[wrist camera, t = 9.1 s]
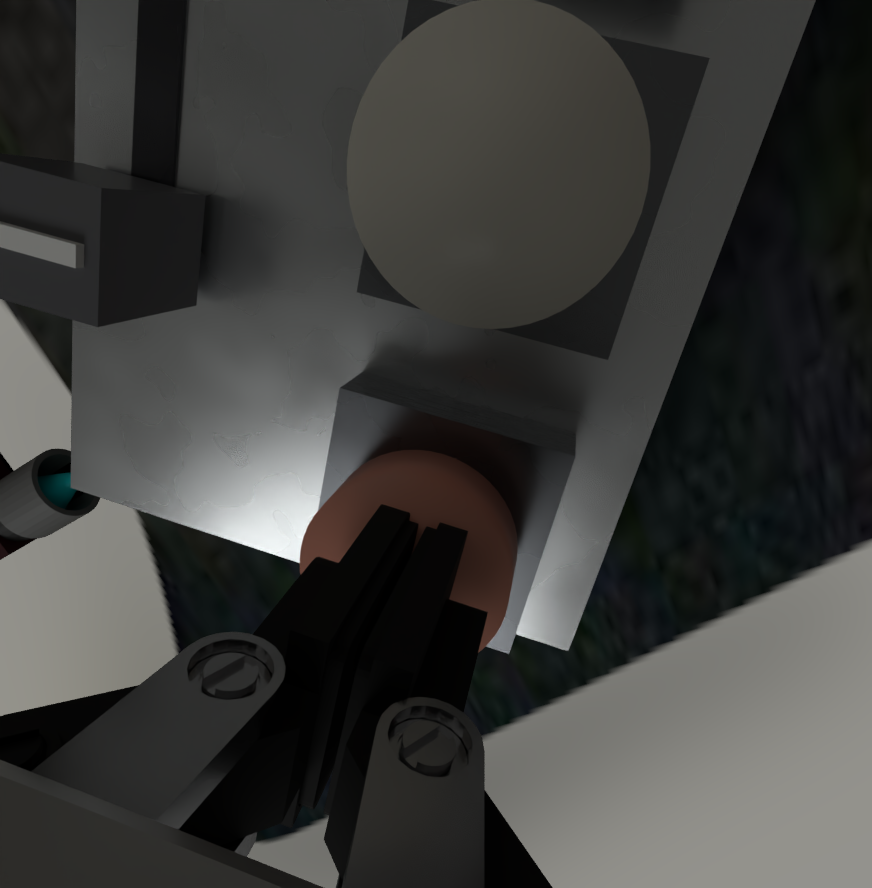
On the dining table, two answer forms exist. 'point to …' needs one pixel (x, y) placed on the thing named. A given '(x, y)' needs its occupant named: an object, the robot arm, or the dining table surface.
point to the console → (372, 297)
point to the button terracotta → (427, 522)
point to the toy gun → (38, 499)
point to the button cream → (498, 163)
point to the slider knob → (96, 241)
